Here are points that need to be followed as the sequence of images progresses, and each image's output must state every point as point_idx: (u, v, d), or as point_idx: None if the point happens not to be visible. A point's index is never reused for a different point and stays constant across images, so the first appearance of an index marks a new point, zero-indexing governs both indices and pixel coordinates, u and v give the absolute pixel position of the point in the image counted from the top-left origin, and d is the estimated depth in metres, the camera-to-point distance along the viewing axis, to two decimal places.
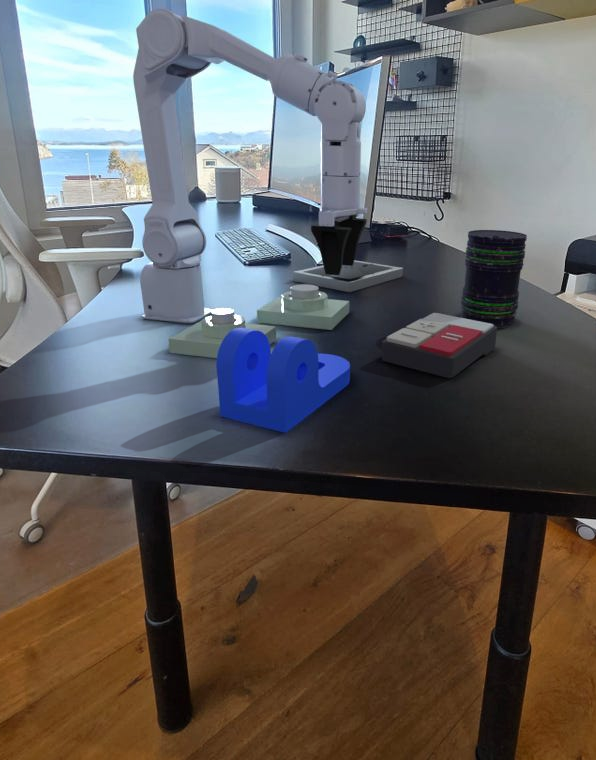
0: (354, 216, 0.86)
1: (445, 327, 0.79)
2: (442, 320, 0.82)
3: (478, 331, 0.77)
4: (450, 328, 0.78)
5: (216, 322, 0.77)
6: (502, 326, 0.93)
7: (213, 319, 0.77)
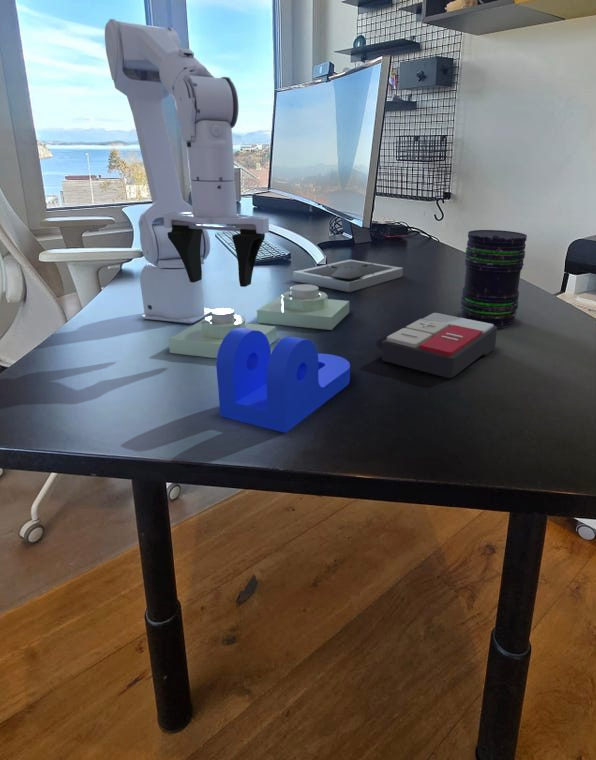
0: (248, 231, 0.72)
1: (445, 327, 0.79)
2: (442, 320, 0.82)
3: (478, 331, 0.77)
4: (450, 328, 0.78)
5: (216, 322, 0.77)
6: (502, 326, 0.93)
7: (213, 319, 0.77)
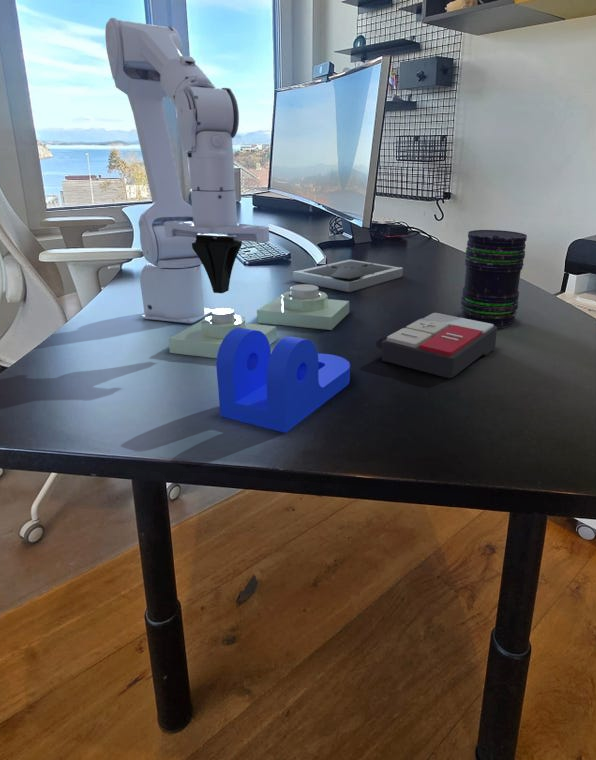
0: (224, 239, 0.73)
1: (445, 327, 0.79)
2: (442, 320, 0.82)
3: (478, 331, 0.77)
4: (450, 328, 0.78)
5: (216, 322, 0.77)
6: (502, 326, 0.93)
7: (213, 319, 0.77)
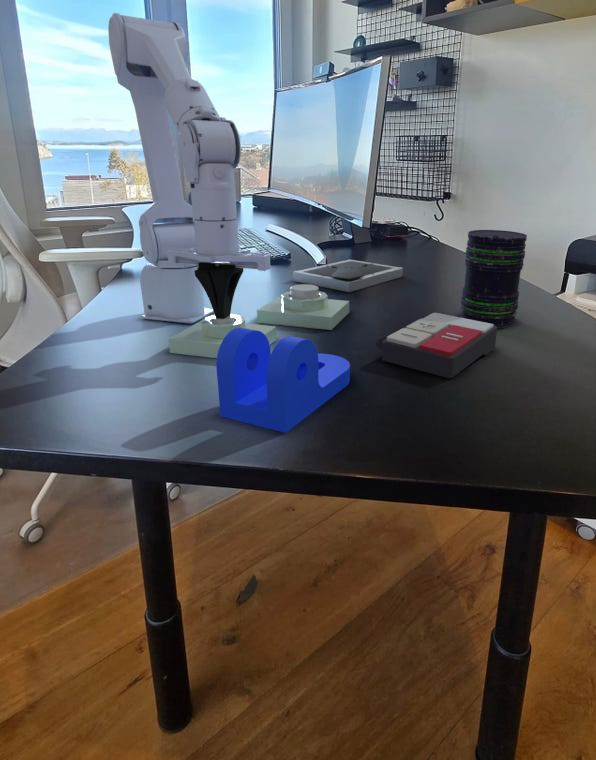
0: (226, 266, 0.75)
1: (445, 327, 0.79)
2: (442, 320, 0.82)
3: (478, 331, 0.77)
4: (450, 328, 0.78)
5: None
6: (502, 326, 0.93)
7: None
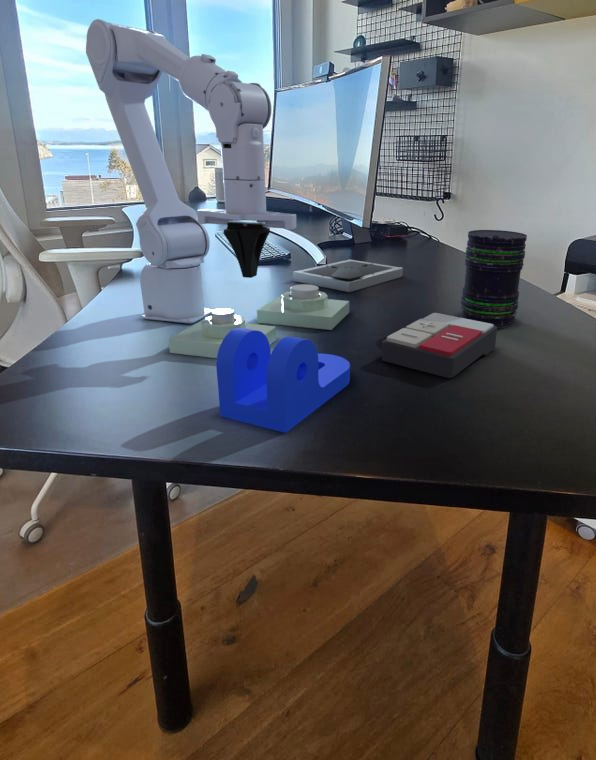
0: (254, 226, 0.77)
1: (445, 327, 0.79)
2: (442, 320, 0.82)
3: (478, 331, 0.77)
4: (450, 328, 0.78)
5: (216, 322, 0.77)
6: (502, 326, 0.93)
7: (213, 319, 0.77)
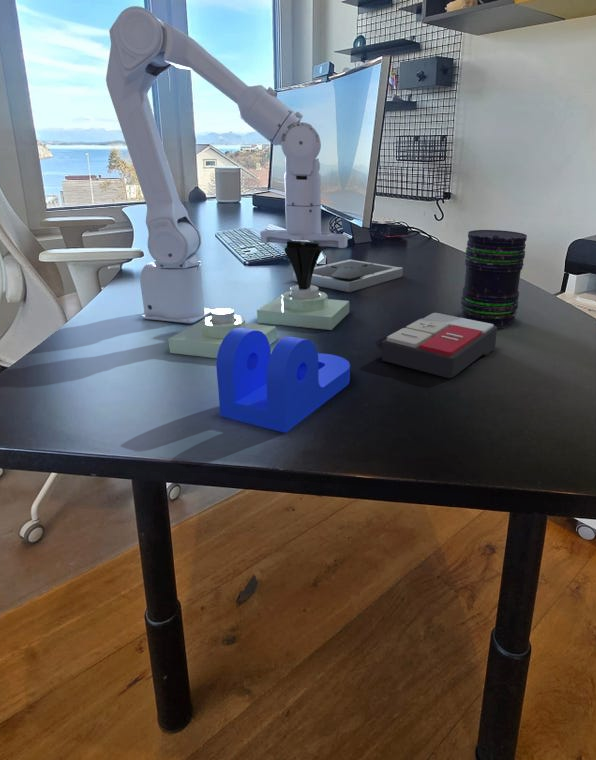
0: (311, 244, 0.89)
1: (445, 327, 0.79)
2: (442, 320, 0.82)
3: (478, 331, 0.77)
4: (450, 328, 0.78)
5: (216, 322, 0.77)
6: (502, 326, 0.93)
7: (213, 319, 0.77)
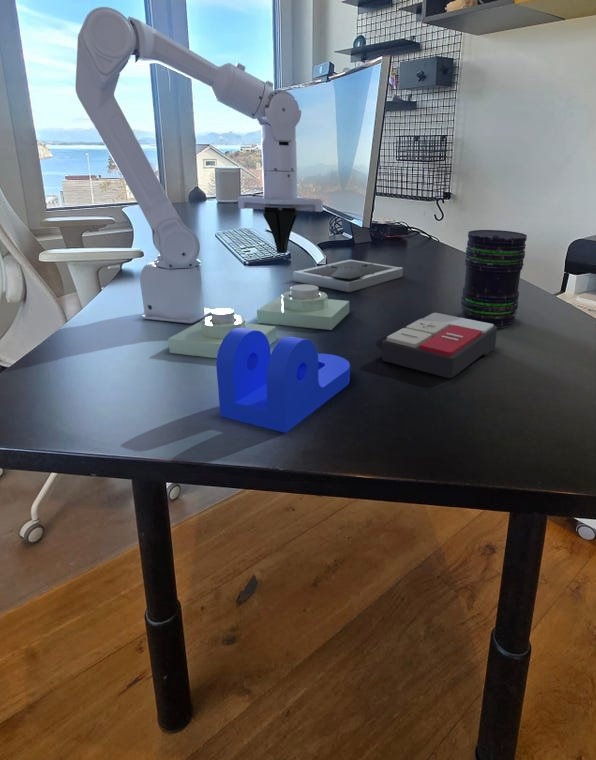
0: (289, 209, 0.94)
1: (445, 327, 0.79)
2: (442, 320, 0.82)
3: (478, 331, 0.77)
4: (450, 328, 0.78)
5: (216, 322, 0.77)
6: (502, 326, 0.93)
7: (213, 319, 0.77)
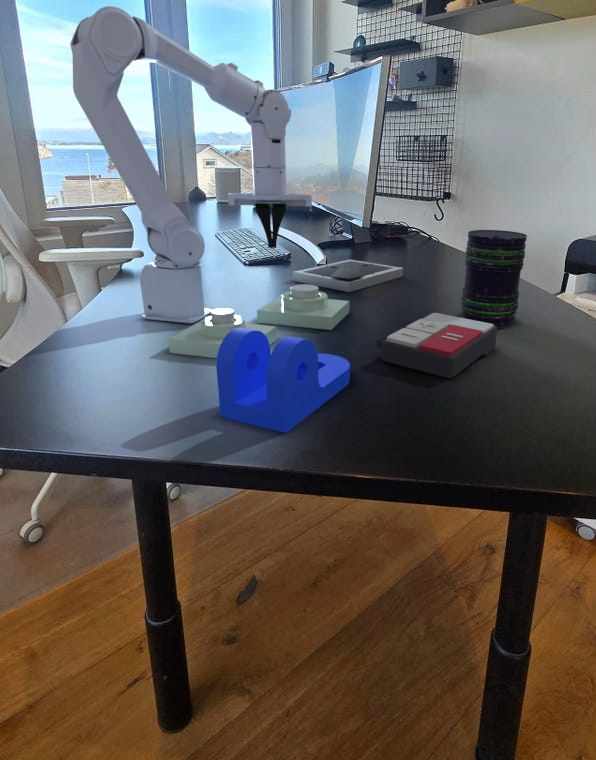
0: (279, 205, 0.97)
1: (445, 327, 0.79)
2: (442, 320, 0.82)
3: (478, 331, 0.77)
4: (450, 328, 0.78)
5: (216, 322, 0.77)
6: (502, 326, 0.93)
7: (213, 319, 0.77)
